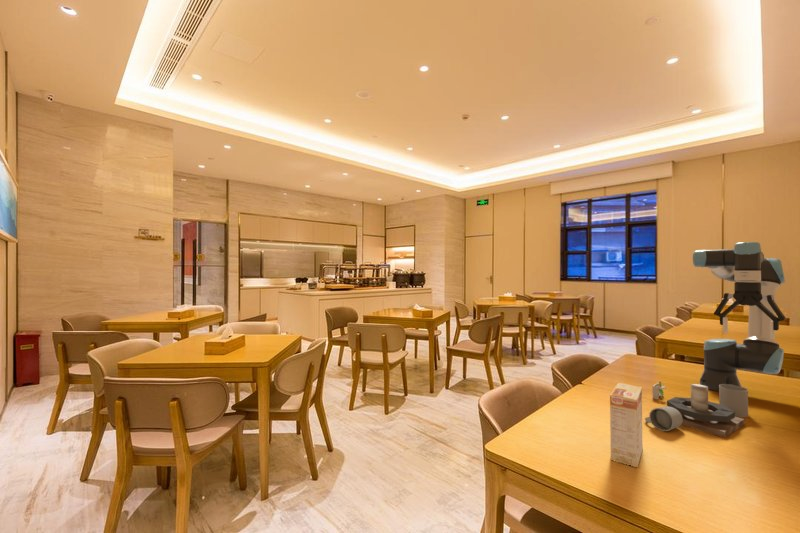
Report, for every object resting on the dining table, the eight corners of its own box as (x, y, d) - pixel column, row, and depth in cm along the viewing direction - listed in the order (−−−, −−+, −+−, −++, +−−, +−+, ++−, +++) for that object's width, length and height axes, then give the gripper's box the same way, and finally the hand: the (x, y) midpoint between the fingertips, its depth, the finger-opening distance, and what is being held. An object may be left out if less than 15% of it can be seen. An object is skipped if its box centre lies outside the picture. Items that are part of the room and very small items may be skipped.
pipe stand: (679, 406, 148) (679, 375, 148) (744, 424, 131) (744, 388, 131) (656, 417, 138) (656, 383, 138) (724, 438, 121) (724, 399, 121)
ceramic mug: (684, 429, 127) (684, 407, 127) (673, 434, 123) (672, 412, 123) (651, 419, 136) (651, 399, 137) (640, 423, 132) (639, 402, 133)
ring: (681, 399, 147) (681, 394, 147) (740, 414, 132) (740, 408, 132) (660, 408, 137) (660, 403, 137) (721, 425, 122) (721, 419, 122)
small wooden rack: (668, 398, 159) (668, 380, 159) (663, 401, 155) (663, 383, 155) (658, 395, 163) (658, 378, 163) (652, 399, 158) (652, 381, 158)
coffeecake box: (617, 441, 118) (617, 382, 118) (643, 448, 114) (643, 386, 114) (609, 460, 107) (608, 394, 107) (637, 468, 102) (637, 399, 102)
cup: (753, 418, 137) (753, 391, 137) (728, 416, 139) (728, 390, 139) (737, 409, 145) (737, 384, 146) (714, 408, 147) (714, 383, 147)
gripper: (703, 281, 149) (704, 332, 149) (791, 282, 128) (792, 342, 128) (710, 280, 153) (711, 330, 153) (796, 282, 132) (797, 340, 132)
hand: (748, 336), depth 140 cm, fingers open, 13 cm apart
